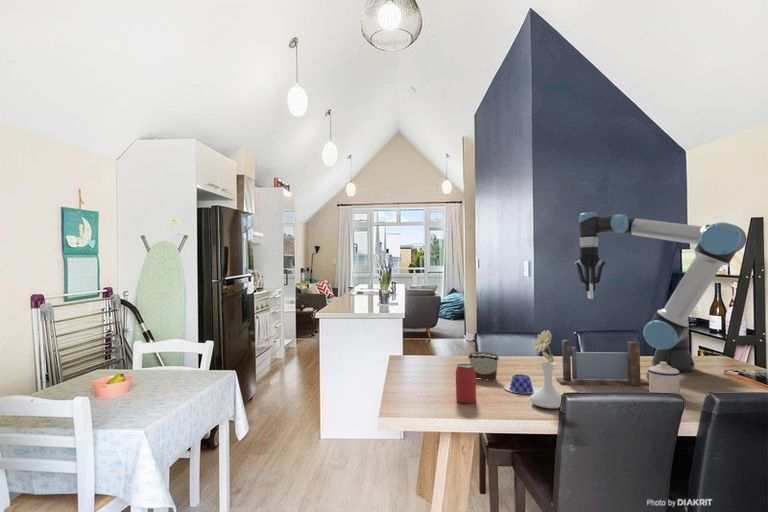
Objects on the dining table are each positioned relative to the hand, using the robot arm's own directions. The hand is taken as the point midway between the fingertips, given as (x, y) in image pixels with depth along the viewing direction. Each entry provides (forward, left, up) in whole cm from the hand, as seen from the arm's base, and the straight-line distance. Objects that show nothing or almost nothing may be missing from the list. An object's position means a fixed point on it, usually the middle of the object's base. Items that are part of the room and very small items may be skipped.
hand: (590, 298), depth 193 cm
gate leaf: (+8, +32, -28) cm, 43 cm away
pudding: (+40, +42, -30) cm, 65 cm away
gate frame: (+8, +32, -29) cm, 44 cm away
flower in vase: (+35, +60, -30) cm, 76 cm away
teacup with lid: (-6, +46, -30) cm, 55 cm away
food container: (+51, +27, -30) cm, 65 cm away
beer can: (+61, +56, -30) cm, 88 cm away
